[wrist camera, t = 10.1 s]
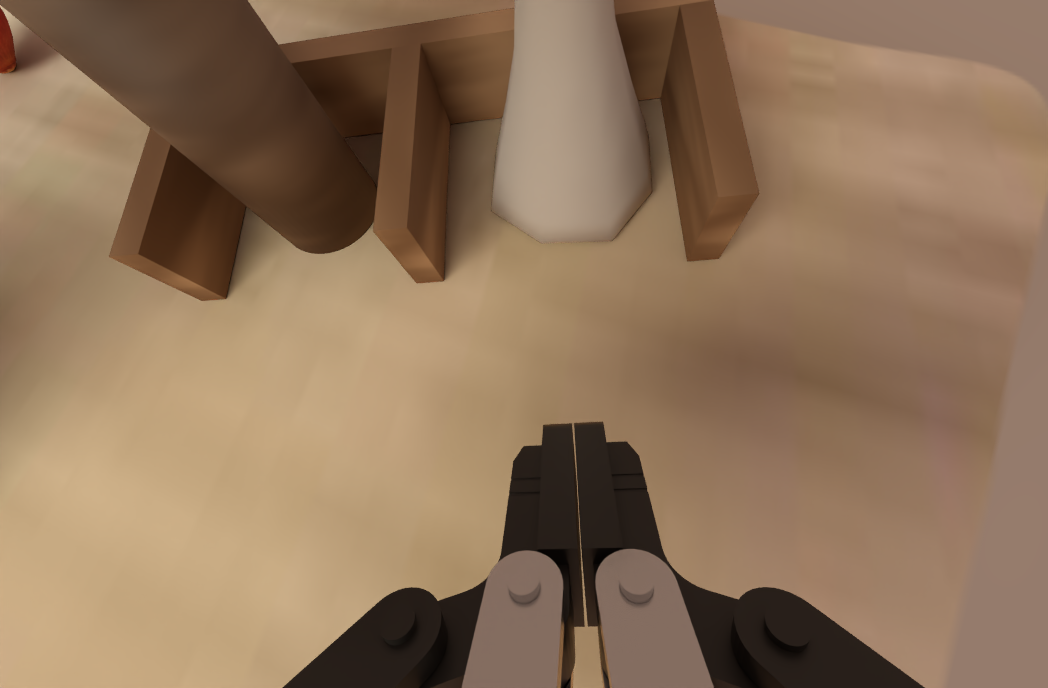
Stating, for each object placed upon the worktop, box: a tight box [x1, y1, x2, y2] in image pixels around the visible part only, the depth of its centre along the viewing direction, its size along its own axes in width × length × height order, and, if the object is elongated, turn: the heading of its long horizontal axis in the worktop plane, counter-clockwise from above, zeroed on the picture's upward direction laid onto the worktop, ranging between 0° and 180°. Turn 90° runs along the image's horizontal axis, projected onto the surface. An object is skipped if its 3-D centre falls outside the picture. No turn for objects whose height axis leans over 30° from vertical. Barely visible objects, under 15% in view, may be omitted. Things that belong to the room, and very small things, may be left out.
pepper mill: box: [0, 0, 377, 254], centre depth 13 cm, size 5×5×14 cm
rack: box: [109, 0, 759, 301], centre depth 17 cm, size 23×10×4 cm, turn 91°
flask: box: [491, 0, 652, 243], centre depth 14 cm, size 7×7×10 cm
